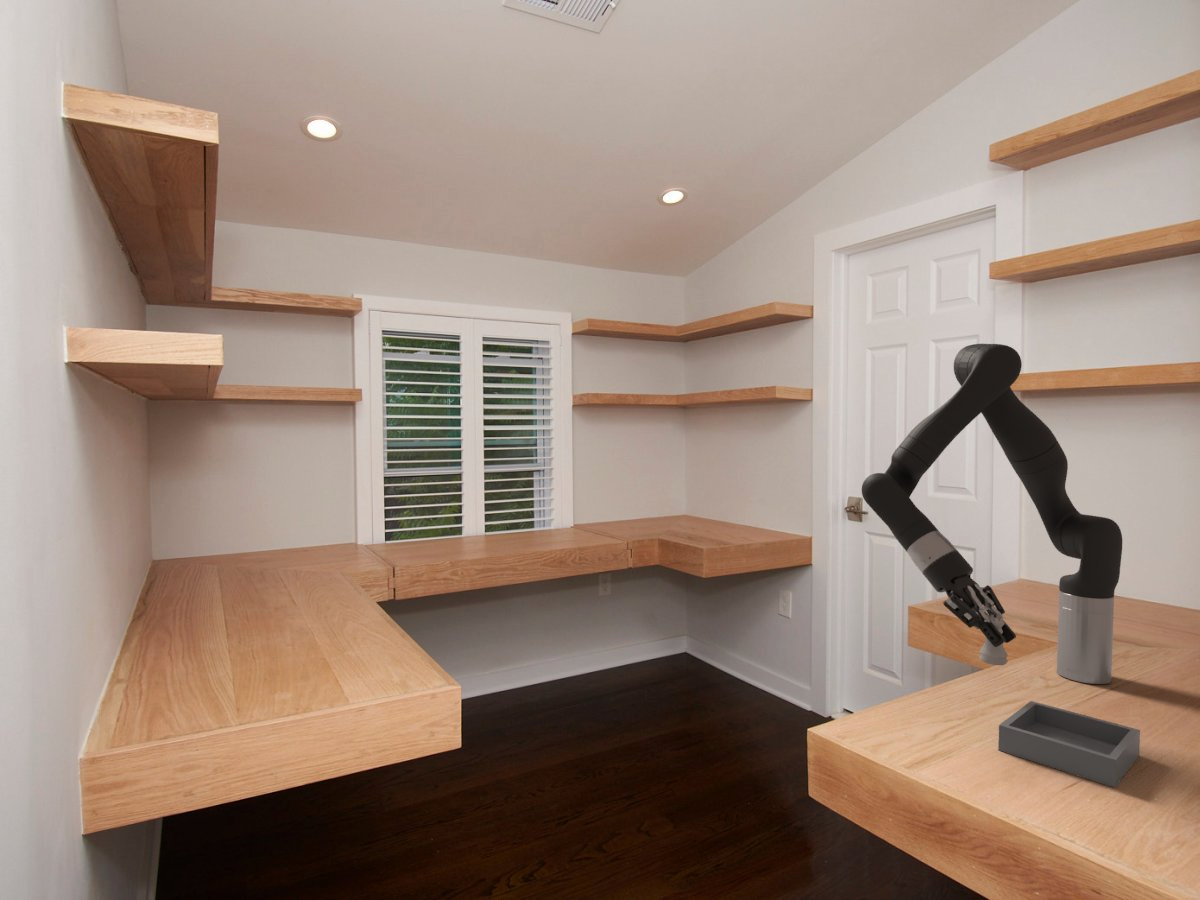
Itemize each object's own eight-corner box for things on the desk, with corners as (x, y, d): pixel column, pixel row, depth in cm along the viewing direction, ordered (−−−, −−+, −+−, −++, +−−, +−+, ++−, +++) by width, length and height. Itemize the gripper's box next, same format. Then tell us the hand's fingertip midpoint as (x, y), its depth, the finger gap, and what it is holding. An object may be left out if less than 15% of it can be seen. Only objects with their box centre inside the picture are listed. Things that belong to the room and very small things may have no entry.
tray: (1030, 723, 118) (1030, 700, 118) (1139, 755, 107) (1140, 730, 107) (998, 750, 108) (999, 725, 108) (1115, 788, 97) (1115, 760, 97)
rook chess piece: (972, 658, 123) (973, 614, 122) (991, 655, 124) (992, 612, 124) (995, 667, 119) (996, 621, 118) (1014, 664, 120) (1015, 618, 120)
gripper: (932, 553, 123) (1003, 638, 113) (972, 545, 131) (1041, 623, 121) (904, 577, 127) (970, 661, 118) (944, 568, 135) (1008, 645, 126)
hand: (1006, 641), depth 120 cm, fingers closed on rook chess piece, 3 cm apart
